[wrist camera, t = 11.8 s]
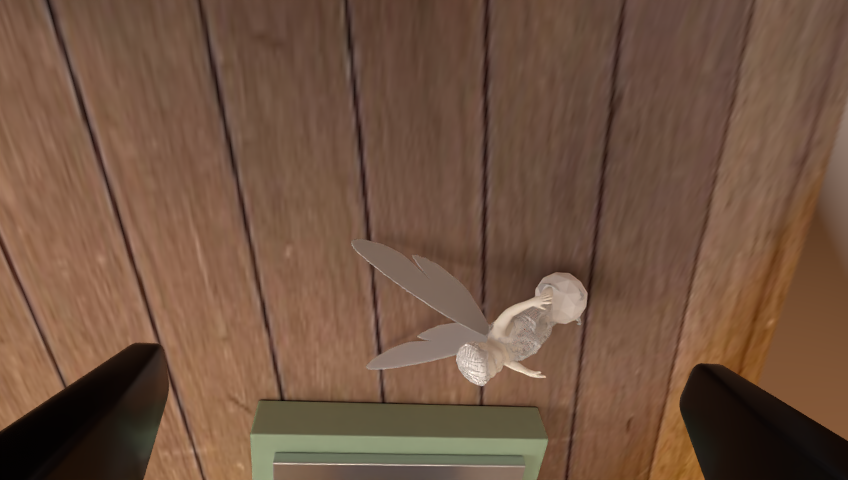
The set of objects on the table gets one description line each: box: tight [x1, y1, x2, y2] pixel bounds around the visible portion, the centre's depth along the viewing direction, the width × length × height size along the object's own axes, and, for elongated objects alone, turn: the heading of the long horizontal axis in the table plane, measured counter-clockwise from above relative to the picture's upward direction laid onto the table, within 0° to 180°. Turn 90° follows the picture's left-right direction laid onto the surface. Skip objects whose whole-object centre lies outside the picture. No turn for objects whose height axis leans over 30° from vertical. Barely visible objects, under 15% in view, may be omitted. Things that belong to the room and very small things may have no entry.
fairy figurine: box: [351, 239, 588, 386], centre depth 22 cm, size 6×7×7 cm
